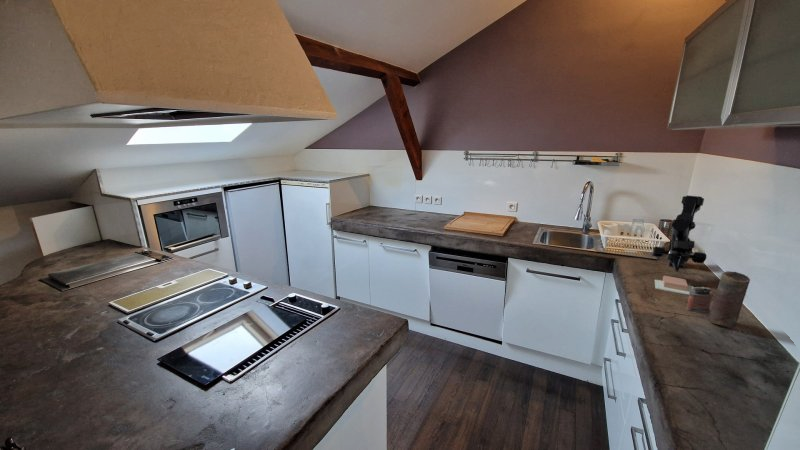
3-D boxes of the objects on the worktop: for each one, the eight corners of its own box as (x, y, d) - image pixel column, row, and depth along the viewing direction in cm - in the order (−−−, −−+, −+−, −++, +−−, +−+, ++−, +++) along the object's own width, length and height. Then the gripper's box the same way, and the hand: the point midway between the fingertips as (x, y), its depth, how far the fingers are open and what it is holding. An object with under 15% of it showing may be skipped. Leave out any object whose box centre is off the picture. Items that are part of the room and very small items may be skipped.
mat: (654, 280, 157) (654, 279, 157) (692, 287, 149) (693, 286, 149) (655, 288, 149) (655, 287, 149) (696, 296, 142) (696, 295, 141)
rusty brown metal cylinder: (736, 323, 122) (750, 274, 116) (735, 332, 117) (750, 281, 111) (708, 316, 127) (721, 268, 122) (706, 324, 122) (719, 275, 117)
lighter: (704, 307, 133) (710, 285, 130) (711, 312, 130) (717, 289, 127) (683, 307, 134) (688, 285, 131) (689, 311, 130) (695, 289, 128)
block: (663, 275, 155) (664, 282, 149) (685, 279, 151) (687, 286, 144) (662, 280, 156) (663, 287, 150) (684, 284, 151) (686, 291, 145)
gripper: (657, 230, 154) (654, 259, 149) (710, 236, 144) (709, 268, 139) (653, 241, 163) (650, 269, 157) (703, 247, 153) (702, 278, 147)
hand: (676, 271), depth 150 cm, fingers closed
